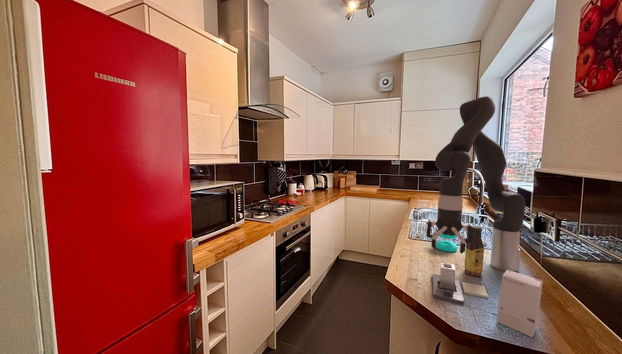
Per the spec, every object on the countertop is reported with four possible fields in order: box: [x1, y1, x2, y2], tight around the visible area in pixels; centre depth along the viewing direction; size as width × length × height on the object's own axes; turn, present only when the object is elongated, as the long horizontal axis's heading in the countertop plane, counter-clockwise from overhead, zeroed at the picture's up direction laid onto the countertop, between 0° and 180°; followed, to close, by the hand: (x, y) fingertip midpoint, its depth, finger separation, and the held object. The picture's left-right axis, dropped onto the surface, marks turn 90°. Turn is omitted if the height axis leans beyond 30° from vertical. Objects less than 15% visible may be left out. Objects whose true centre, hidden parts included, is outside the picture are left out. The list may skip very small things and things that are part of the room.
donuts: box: [436, 234, 458, 253], centre depth 125 cm, size 10×10×10 cm
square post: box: [438, 262, 456, 292], centre depth 88 cm, size 4×4×9 cm
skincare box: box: [496, 270, 544, 338], centre depth 68 cm, size 8×6×15 cm
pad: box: [461, 281, 489, 299], centre depth 87 cm, size 7×7×1 cm
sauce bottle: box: [463, 225, 485, 277], centre depth 99 cm, size 7×6×20 cm
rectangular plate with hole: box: [431, 273, 465, 305], centre depth 88 cm, size 9×16×1 cm, turn 155°
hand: (447, 250), depth 87 cm, fingers open, 8 cm apart
